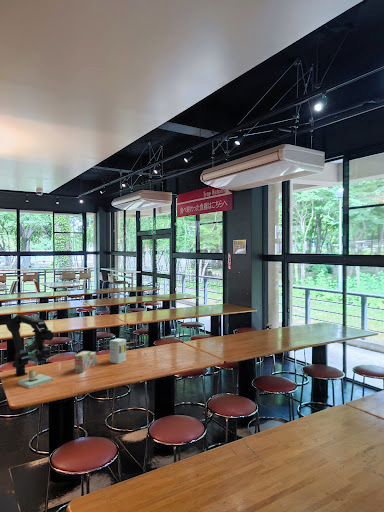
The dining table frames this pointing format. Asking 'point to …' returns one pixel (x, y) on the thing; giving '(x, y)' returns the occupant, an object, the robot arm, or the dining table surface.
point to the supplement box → (118, 350)
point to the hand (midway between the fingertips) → (39, 362)
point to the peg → (32, 375)
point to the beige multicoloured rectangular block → (84, 361)
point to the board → (39, 380)
